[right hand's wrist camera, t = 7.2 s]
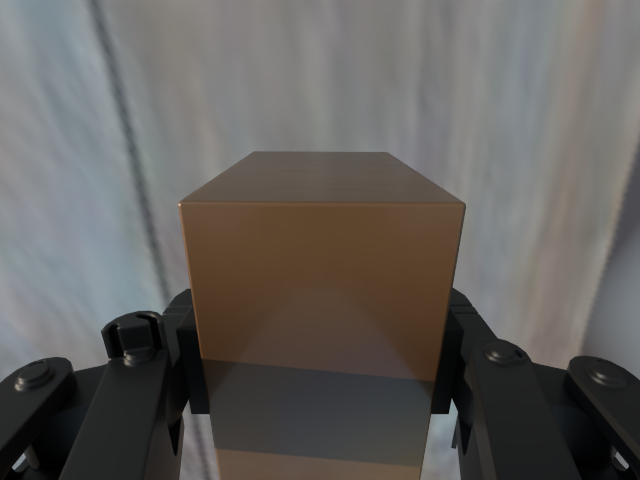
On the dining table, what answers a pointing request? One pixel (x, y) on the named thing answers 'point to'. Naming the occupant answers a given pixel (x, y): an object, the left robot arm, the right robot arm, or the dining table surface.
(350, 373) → the beam
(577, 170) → the dining table surface
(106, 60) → the dining table surface
